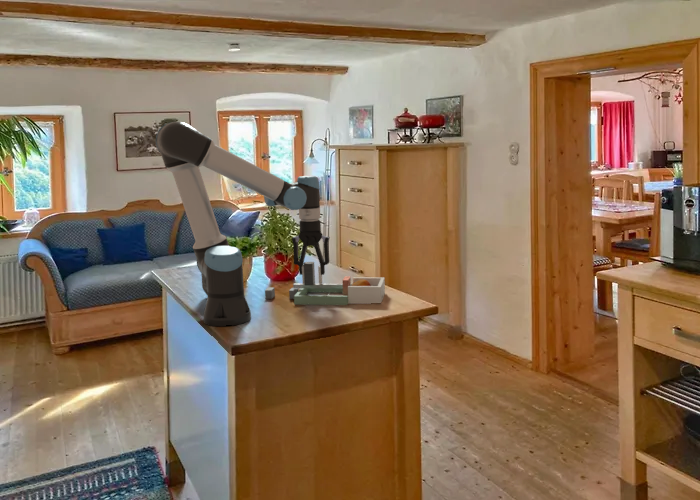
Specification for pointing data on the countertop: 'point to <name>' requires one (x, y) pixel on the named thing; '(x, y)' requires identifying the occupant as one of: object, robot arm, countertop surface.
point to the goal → (367, 291)
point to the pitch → (311, 296)
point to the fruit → (361, 283)
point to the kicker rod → (310, 283)
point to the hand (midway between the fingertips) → (312, 283)
